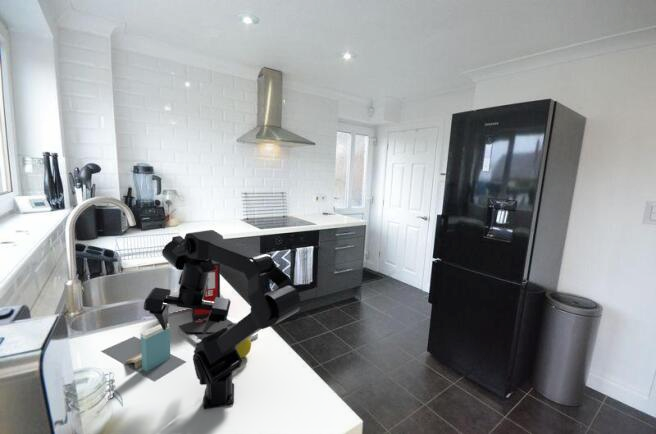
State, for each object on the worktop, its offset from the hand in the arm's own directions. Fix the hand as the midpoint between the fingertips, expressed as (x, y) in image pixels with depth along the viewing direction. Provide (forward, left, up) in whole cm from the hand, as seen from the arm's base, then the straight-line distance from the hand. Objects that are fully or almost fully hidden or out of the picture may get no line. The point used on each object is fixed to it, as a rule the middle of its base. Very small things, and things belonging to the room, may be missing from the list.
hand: (184, 331), depth 75 cm
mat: (+9, +12, -12) cm, 19 cm away
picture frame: (+17, -7, -12) cm, 23 cm away
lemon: (+3, -14, -12) cm, 19 cm away
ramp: (+8, +11, -12) cm, 18 cm away
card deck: (+5, +8, -11) cm, 15 cm away
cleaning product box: (+37, -1, -12) cm, 39 cm away
